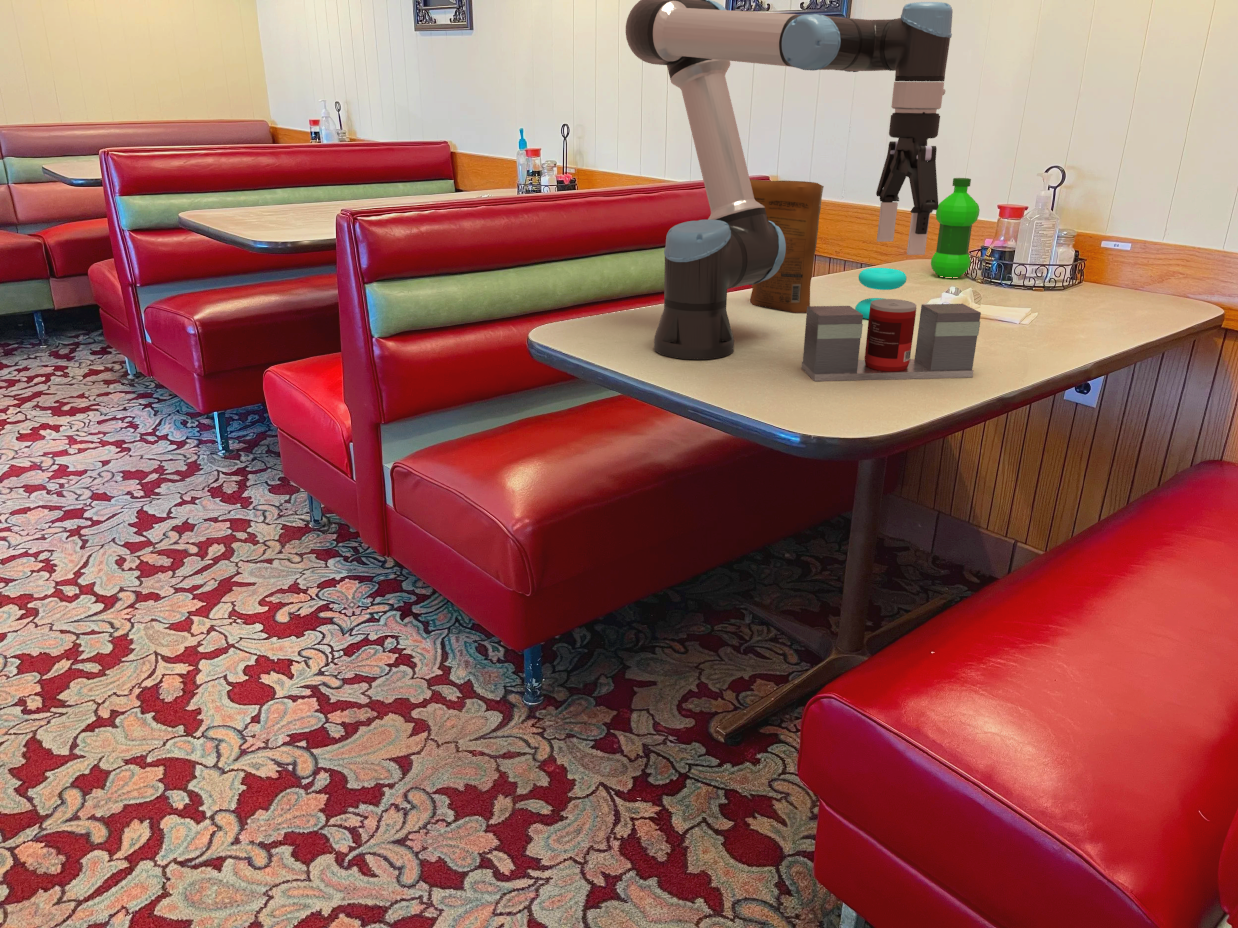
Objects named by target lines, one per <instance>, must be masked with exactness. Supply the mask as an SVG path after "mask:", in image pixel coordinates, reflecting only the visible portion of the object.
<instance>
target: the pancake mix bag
mask: <svg viewBox="0 0 1238 928" xmlns="http://www.w3.org/2000/svg"><path fill="white" fill-rule="evenodd" d="M750 183H751V187H752V191H753V195H754V199H755V201H756V202H758V203H760V204H761V205H763V206H764V207H765V210H766V215H767V218H768V221H771V222H773V223H775V225H776V226H778V227H779V228H780V229H781V231H782V233H783V235H784V238H785V243H786V252H785V257H784V261H783V263H782V264H781V266H780V269H779V270H778V272H777V273H776V274H775V275H774V276H772V277H771V278H769V279H767V280H765V281H761V282H760V283H756V284H754V285H751V288H752V290H751V293H750V299H749V302H750V304H751V305H752V306H755V307H761V308H766V309H771V310H777V311H782V312H783V311H784V312H788V313H793V314H794V313H795V314H805V313H806V314H807V306H811V282H812V277H813V269H814V262H815V261H814V260H815V255H816V249H817V242H818V234H819V233H818V232H819V224H820V215H821V208H822V199H823V198H822V197H823V191H824V185H822V184H820V183H819V182H814V181H805V180H804V181H802V180H801V181H800V180H767V179H766V180H761V179H750Z"/></svg>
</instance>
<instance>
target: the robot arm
mask: <svg viewBox="0 0 1238 928" xmlns="http://www.w3.org/2000/svg"><path fill="white" fill-rule="evenodd" d="M952 25H953V8H952V6H951V5H950V4H949V3H947V2H942V1H919V2H909V3H906V4H905V5H904V6H903V7H902V12H901V15H900V17H898V18H893V19H864V18H863V19H862V18H854V17H853V18H851V17H837V16H829V15H823V14H817V13H808V14H797V13H784V12H783V13H778V12H765V11H764V12H763V11H743V10H729V9H728V10H727V9H726V8H725V6H724V5H722V4H720V3H719V2H718V1H715V0H639V1H638V2H637V3H635V5H634V6H633V7H632V9H630V12H629V13H628V16H627V17H626V23H625V38H626V41H627V44H628V47H629V48H630V51H631V52H632V53H633V54H634V56H636V58H638V59H639V60H641V61H643V62H644V63H648V64H650V65H659V66H666V67H667V71H668V74H669V79H670V82H671V84H672V85H673V86H675V87H677V88H679V89H680V91H681V94H682V99H683V102H684V106H685V111H686V114H687V119H688V122H689V126H690V127H689V128H690V131H691V137H692V138H693V143H694V147H695V152H696V155H697V159H698V164H699V167H700V168H699V169H700V172H701V176H702V180H703V184H704V189H705V192H706V196H707V200H708V201H707V202H708V204H709V209H710V216H708V218H707V219H698V220H690V221H689V220H688V221H684V222H681V223H678V224H675V225H673V226H672V227H671V228H670V229H669V230H668V232H667V233H666V237H665V238H666V239H665V247H664V251H663V253H664V254H663V255H664V281H663V282H664V290H663V291H664V293H663V294H664V296H663V298H664V301H663V310H662V313H661V317H660V319H659V322H658V325H657V329H656V330H655V335H654V338H653V349H654V351H655V352H656V353H658V354H660V355H663V356H665V357H668V358H669V357H670V358H673V359H674V358H675V359H683V360H711V359H713V360H714V359H719V358H724V357H727V356H729V355H731V354H732V353H733V352H734V347H735V337H734V334H733V329H732V326H731V322H730V319H729V316H728V313H727V301H728V300H727V298H728V290H729V289H734V288H739V287H742V286H748V285H749V286H752V285H754V284H756V283H760V282H761V281H765V280H767V279H769V278H771V277H772V276H774V275H775V274H776V273H777V272H778V270H779V269H780V266H781V264H782V263H783V261H784V257H785V252H786V243H785V238H784V235H783V233H782V231H781V229H780V228H779V227H778V226H776V225H775V223H773V222H771V221H768V218H767V215H766V210H765V207H764V206H763V205H761V204H760V203H758V202H756V201H755V199H754V195H753V191H752V187H751V183H750V180H751V179H750V174H749V170H748V167H747V166H748V165H747V163H746V158H745V154H744V153H745V152H744V149H743V145H742V141H741V137H740V133H739V129H738V124H737V121H736V116H735V111H734V108H733V104H732V99H731V96H730V91H729V87H728V83H727V79H726V73H727V72H728V70H729V68H730V67H731V62H739V63H740V62H741V63H748V64H750V63H751V64H758V65H759V64H760V65H771V66H779V67H780V66H781V67H790V68H796V69H800V70H803V71H826V70H827V71H830V70H831V71H840V72H841V71H842V72H843V71H844V72H847V73H848V72H850V73H851V72H852V73H858V72H876V71H877V72H879V71H881V72H882V71H890V72H891V71H894V72H895V74H894V76H895V78H894V83H893V88H892V89H893V91H892V100H891V108H892V109H893V110H894V112H892V114H891V115H890V120H889V121H890V122H889V129H888V135H889V137H891V138H893V139H898V140H894V141H893V140H891V141H889V142H888V147H887V155H886V158H885V161H884V165H883V169H882V172H881V176H880V179H879V182H878V185H877V188H876V192H875V194H876V197H879V202H880V207H879V217H878V224H877V225H878V226H877V227H878V228H877V236H876V242H880V243H882V242H885V243H886V242H894V240H895V239H894V238H895V231H896V221H897V212H898V204H899V203H898V202H900V198H899V193H900V191H901V189H902V188H903V184H904V183H905V181H906V178H908V181H909V186H910V189H911V196H912V197H911V198H912V202H913V207H912V208H911V210H910V213H911V217H910V223H909V232H908V239H907V240H908V241H907V248H906V255H908V256H925V254H926V249H927V248H926V247H927V240H928V233H929V224H930V219H931V218H930V217H931V214H932V213H933V211H936V210H937V209H938V205H939V195H938V194H939V193H938V178H937V164H936V163H937V162H936V161H937V160H936V159H937V145H928V140H929V139H935V138H936V137H938V136H939V129H940V122H941V115H940V113H937V110H940V109H941V108H942V103H943V102H942V101H943V97H944V95H945V94H946V89H945V88H944V87H945V79H946V71H947V70H946V69H947V63H948V55H949V48H950V43H951V38H952V35H953V34H952Z"/></svg>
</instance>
